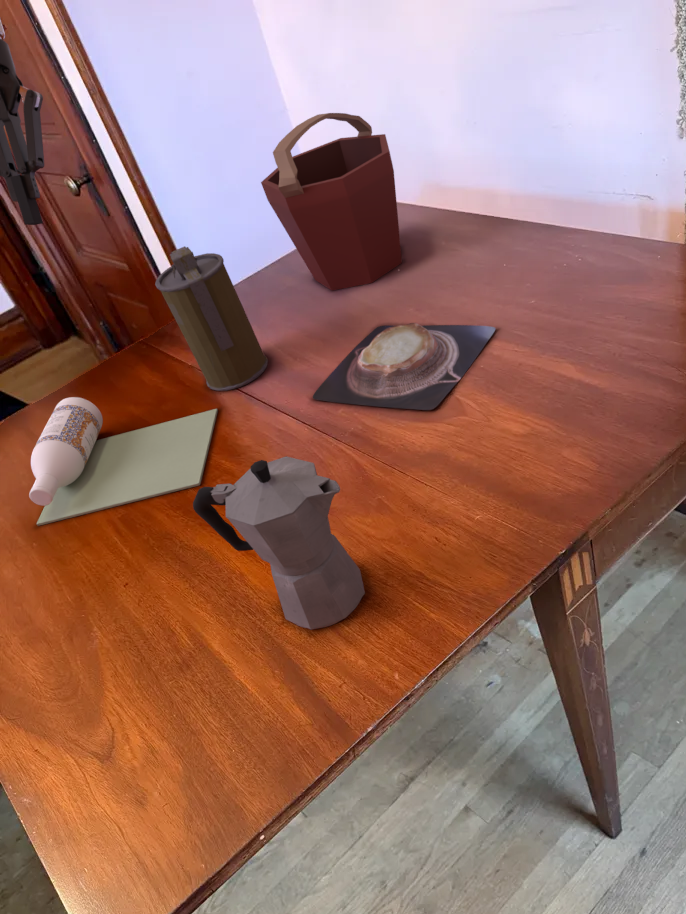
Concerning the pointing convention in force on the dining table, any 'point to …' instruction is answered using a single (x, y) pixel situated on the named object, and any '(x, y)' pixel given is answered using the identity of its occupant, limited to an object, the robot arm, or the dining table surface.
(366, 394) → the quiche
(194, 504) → the coffeepot
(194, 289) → the canister
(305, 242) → the bucket
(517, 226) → the dining table surface
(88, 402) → the bath foam
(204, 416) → the mat
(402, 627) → the dining table surface
